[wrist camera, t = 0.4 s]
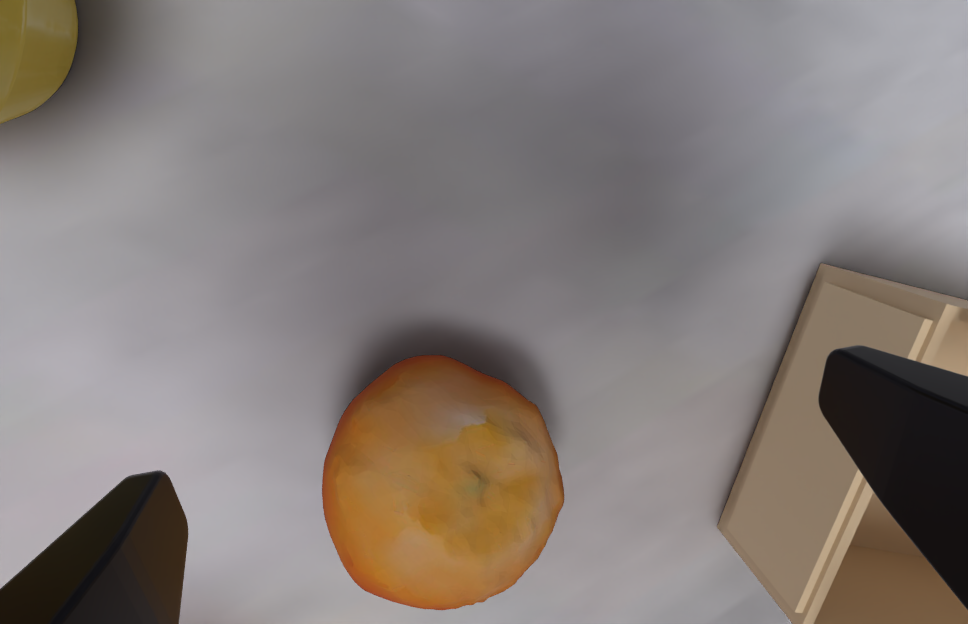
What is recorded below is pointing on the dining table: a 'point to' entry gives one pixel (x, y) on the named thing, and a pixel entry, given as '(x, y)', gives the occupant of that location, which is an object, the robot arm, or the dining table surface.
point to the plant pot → (34, 52)
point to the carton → (840, 466)
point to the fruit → (440, 485)
